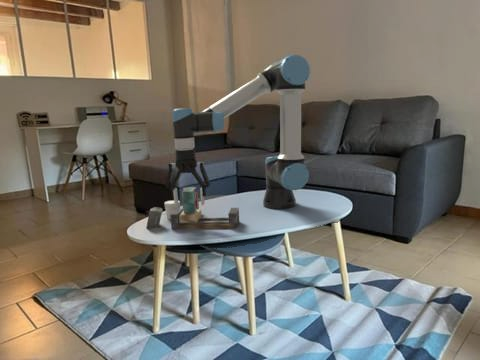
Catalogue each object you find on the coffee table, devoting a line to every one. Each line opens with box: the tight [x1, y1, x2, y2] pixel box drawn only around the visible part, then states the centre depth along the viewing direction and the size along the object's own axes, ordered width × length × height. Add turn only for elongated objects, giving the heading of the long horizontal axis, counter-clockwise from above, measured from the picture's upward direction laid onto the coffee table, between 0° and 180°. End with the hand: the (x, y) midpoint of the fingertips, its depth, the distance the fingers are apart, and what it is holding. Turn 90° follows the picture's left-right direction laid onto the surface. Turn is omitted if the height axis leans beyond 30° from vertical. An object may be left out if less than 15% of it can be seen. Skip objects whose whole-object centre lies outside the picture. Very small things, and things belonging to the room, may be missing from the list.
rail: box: [170, 207, 240, 230], centre depth 145 cm, size 26×8×6 cm, turn 83°
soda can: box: [181, 186, 200, 211], centre depth 161 cm, size 7×7×12 cm
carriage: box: [179, 189, 203, 223], centre depth 144 cm, size 7×8×12 cm
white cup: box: [164, 199, 181, 220], centre depth 158 cm, size 7×7×7 cm
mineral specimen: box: [146, 206, 164, 229], centre depth 147 cm, size 7×9×8 cm
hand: (189, 204), depth 144 cm, fingers open, 10 cm apart
